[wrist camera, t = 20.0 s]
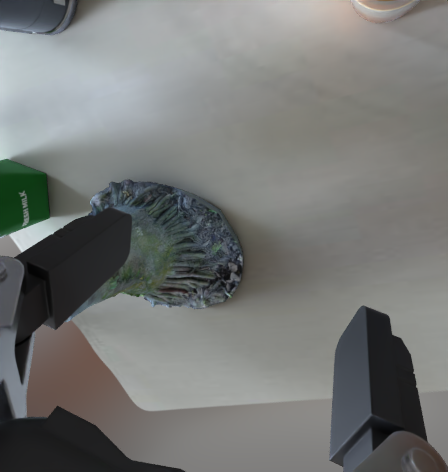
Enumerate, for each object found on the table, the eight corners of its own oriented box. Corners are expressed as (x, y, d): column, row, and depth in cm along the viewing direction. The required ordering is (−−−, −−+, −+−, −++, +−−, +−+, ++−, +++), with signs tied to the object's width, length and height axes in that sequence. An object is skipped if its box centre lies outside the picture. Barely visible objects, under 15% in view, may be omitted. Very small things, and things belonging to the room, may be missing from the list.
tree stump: (209, 331, 47) (101, 425, 33) (122, 241, 52) (-2, 288, 38) (273, 242, 36) (152, 325, 22) (154, 140, 42) (-1, 156, 28)
